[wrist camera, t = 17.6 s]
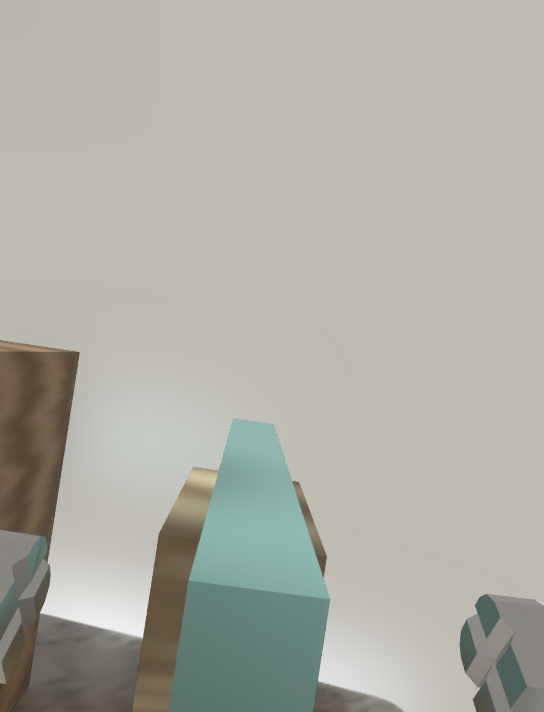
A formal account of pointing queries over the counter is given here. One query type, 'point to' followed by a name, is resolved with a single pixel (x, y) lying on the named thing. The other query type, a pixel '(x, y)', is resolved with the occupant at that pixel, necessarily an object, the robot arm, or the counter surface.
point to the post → (31, 458)
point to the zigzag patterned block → (182, 586)
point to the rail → (252, 590)
